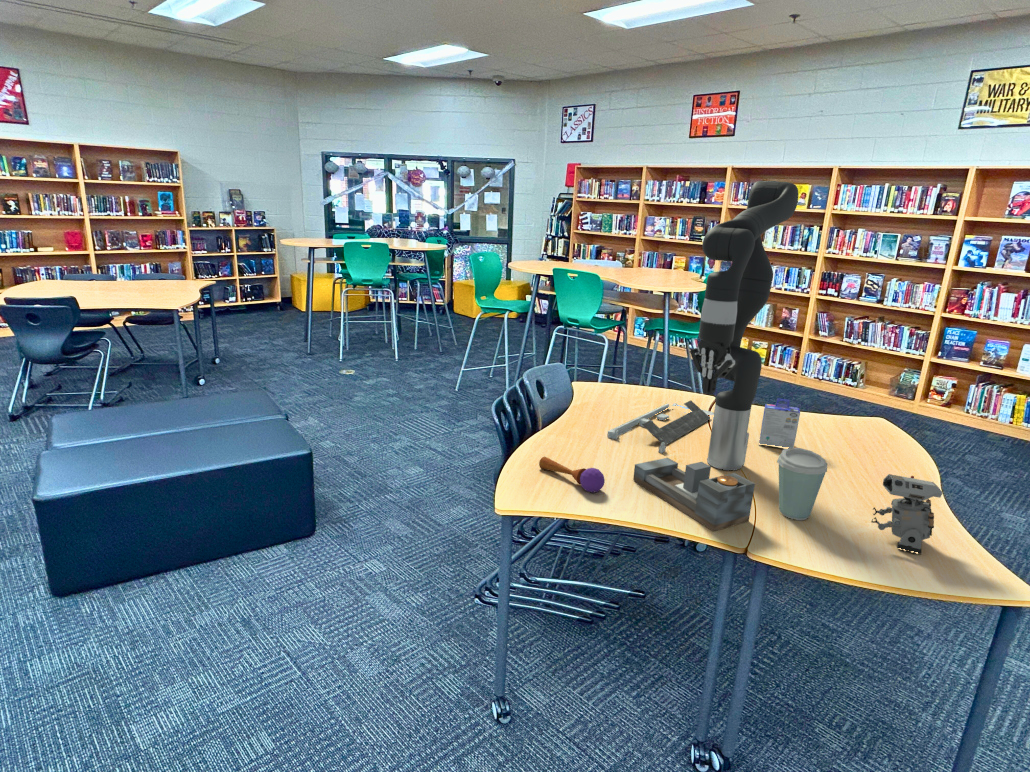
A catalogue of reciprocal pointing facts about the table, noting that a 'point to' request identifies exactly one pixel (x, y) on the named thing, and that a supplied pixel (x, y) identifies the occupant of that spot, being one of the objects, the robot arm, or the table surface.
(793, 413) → the ink cartridge box
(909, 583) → the table surface
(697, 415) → the paper cutter
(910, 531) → the figurine
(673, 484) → the grey stepped base
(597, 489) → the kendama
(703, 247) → the robot arm
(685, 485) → the carriage
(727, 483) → the button
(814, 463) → the disposable coffee cup
